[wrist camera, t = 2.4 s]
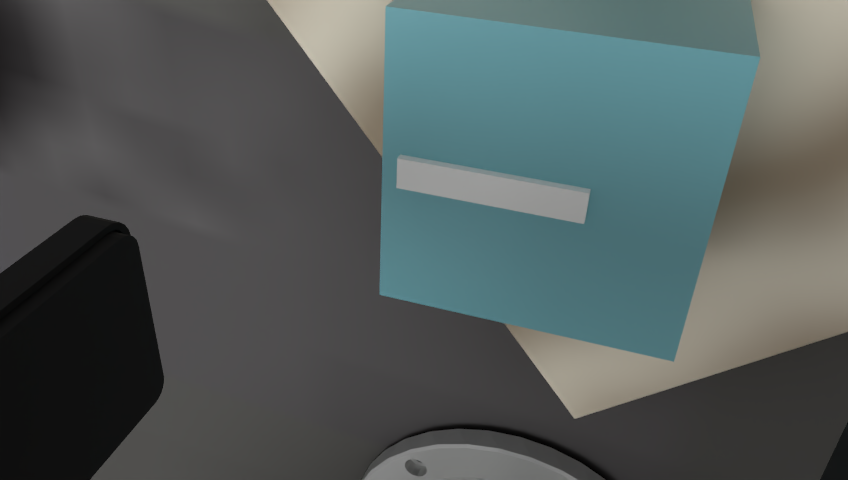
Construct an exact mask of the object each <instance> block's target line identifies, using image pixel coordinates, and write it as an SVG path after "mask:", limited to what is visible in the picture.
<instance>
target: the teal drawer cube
mask: <svg viewBox="0 0 848 480" xmlns="http://www.w3.org/2000/svg"><path fill="white" fill-rule="evenodd" d="M759 60H760V52H759V46H758V40H757V35H756V29H755V23H754V17H753V12H752V6H751V0H393V1H392V2H391V3H389V4H388V5H387V6H386V9H385V58H384V106H383V155H382V203H381V252H380V295H383V296H387V297H392V298H396V299H401V300H405V301H409V302H414V303H418V304H423V305H427V306H431V307H436V308H440V309H444V310H449V311H453V312H458V313H462V314H466V315H471V316H475V317H480V318H484V319H488V320H493V321H497V322H502V323H506V324H510V325H515V326H519V327H524V328H528V329H532V330H537V331H541V332H546V333H550V334H554V335H559V336H563V337H568V338H572V339H576V340H581V341H585V342H589V343H594V344H598V345H603V346H607V347H611V348H616V349H620V350H625V351H629V352H633V353H638V354H642V355H647V356H651V357H655V358H660V359H664V360H669V361H673V362H674V360H675V357H676V353H677V349H678V346H679V342H680V339H681V335H682V332H683V328H684V325H685V321H686V318H687V314H688V311H689V307H690V304H691V300H692V297H693V293H694V290H695V286H696V282H697V279H698V275H699V272H700V268H701V265H702V261H703V258H704V254H705V251H706V247H707V244H708V240H709V237H710V233H711V230H712V226H713V223H714V219H715V215H716V212H717V208H718V205H719V201H720V198H721V194H722V191H723V187H724V184H725V180H726V177H727V173H728V170H729V166H730V163H731V159H732V156H733V152H734V149H735V145H736V141H737V138H738V134H739V131H740V127H741V124H742V120H743V117H744V113H745V110H746V106H747V103H748V99H749V96H750V92H751V89H752V85H753V82H754V78H755V74H756V71H757V67H758V64H759Z"/></svg>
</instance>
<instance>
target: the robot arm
mask: <svg viewBox="0 0 848 480" xmlns="http://www.w3.org/2000/svg"><path fill="white" fill-rule="evenodd" d="M163 383H164V375H163V370H162V365H161V360H160V354H159V349H158V344H157V339H156V334H155V328H154V323H153V318H152V313H151V308H150V302H149V297H148V292H147V287H146V282H145V277H144V271H143V266H142V261H141V256H140V251H139V246H138V243H137V240H136V239H135V238H134V237H133V236H131V235H130V232H129V229H128V228H127V227H126V226H125V225H124V224H122V223H120V222H115V221H111V220H106V219H102V218H97V217H93V216H89V215H83V216H79V217H77V218H75V219H74V220H72V221H71V222H70V223H68V224H67V225H65V226H64V227H63V228H61V229H60V230H59V231H57V232H56V233H55V234H53V235H52V236H51V237H49V238H48V239H46V240H45V241H44V242H42V243H41V244H40V245H38V246H37V247H36V248H34V249H33V250H32V251H30V252H29V253H27V254H26V255H25V256H23V257H22V258H21V259H19V260H18V261H17V262H15V263H14V264H13V265H11V266H10V267H8V268H7V269H6V270H4V271H3V272H2V273H0V480H90V479H91V478H92V476H93V475H94V474H95V473H96V472H97V471H98V469H99V468H100V467H101V466H102V465H103V464H104V462H105V461H106V460H107V459H108V458H109V457H110V455H111V454H112V453H113V452H114V451H115V450H116V448H117V447H118V446H119V445H120V444H121V442H122V441H123V440H124V439H125V438H126V437H127V435H128V434H129V433H130V432H131V431H132V430H133V428H134V427H135V426H136V425H137V424H138V423H139V421H140V420H141V419H142V418H143V417H144V416H145V414H146V413H147V412H148V411H149V410H150V408H151V407H152V406H153V405H154V404H155V403H156V401H157V400H158V398H159V396H160V394H161V392H162V388H163ZM362 480H605V479H604V478H602V477H601V476H600V475H598V474H597V473H595V472H594V471H592V470H591V469H589V468H588V467H587V466H585V465H584V464H582V463H581V462H579V461H577V460H575V459H573V458H571V457H569V456H567V455H565V454H563V453H561V452H559V451H557V450H555V449H553V448H551V447H548V446H545V445H542V444H539V443H536V442H533V441H531V440H528V439H525V438H522V437H518V436H513V435H508V434H503V433H498V432H493V431H488V430H471V429H450V430H440V431H431V432H427V433H423V434H420V435H416V436H413V437H409V438H406V439H404V440H402V441H400V442H398V443H397V444H395V445H393V446H391V447H389V448H388V449H386V450H385V451H384V452H383V453H381V454H380V455H379V456H378V457H377V458H376V459H375V460H374V461H373V462H372V463H371V464H370V466H369V468H368V469H367V471H366V473H365V475H364V476H363V478H362ZM820 480H848V423H847V425H846V427H845V429H844V431H843V433H842V435H841V437H840V439H839V442H838V444H837V446H836V448H835V450H834V452H833V454H832V456H831V458H830V460H829V462H828V465H827V467H826V469H825V471H824V473H823V475H822V477H821V479H820Z"/></svg>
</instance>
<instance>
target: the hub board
mask: <svg viewBox="0 0 848 480" xmlns="http://www.w3.org/2000/svg"><path fill="white" fill-rule="evenodd" d="M267 1H268V2H269V4H270V5H271V6H272V8H273V9H274V10H275V12H276V13H277V14H278V16H279V17H280V19H281V20H282V21H283V23H284V24H285V25H286V27H287V28H288V29H289V31H290V32H291V34H292V35H293V36H294V38H295V39H296V40H297V42H298V43H299V44H300V46H301V47H302V49H303V50H304V51H305V53H306V54H307V55H308V57H309V58H310V59H311V61H312V62H313V64H314V65H315V66H316V68H317V69H318V70H319V72H320V73H321V74H322V76H323V77H324V78H325V80H326V81H327V83H328V84H329V85H330V87H331V88H332V89H333V91H334V92H335V93H336V95H337V96H338V98H339V99H340V100H341V102H342V103H343V104H344V106H345V107H346V108H347V110H348V111H349V113H350V114H351V115H352V117H353V118H354V119H355V121H356V122H357V123H358V125H359V126H360V128H361V129H362V130H363V132H364V133H365V134H366V136H367V137H368V138H369V140H370V141H371V142H372V144H373V145H374V147H375V148H376V149H377V151H378V152H379V153H380V155H381V156H382V155H383V106H384V58H385V9H386V6H387V5H388V4H389V3H391V2H392V1H393V0H267ZM751 6H752V12H753V17H754V23H755V29H756V35H757V40H758V46H759V52H760V60H759V64H758V67H757V71H756V74H755V78H754V82H753V85H752V89H751V92H750V96H749V99H748V103H747V106H746V110H745V113H744V117H743V120H742V124H741V127H740V131H739V134H738V138H737V141H736V145H735V149H734V152H733V156H732V159H731V163H730V166H729V170H728V173H727V177H726V180H725V184H724V187H723V191H722V194H721V198H720V201H719V205H718V208H717V212H716V215H715V219H714V223H713V226H712V230H711V233H710V237H709V240H708V244H707V247H706V251H705V254H704V258H703V261H702V265H701V268H700V272H699V275H698V279H697V282H696V286H695V290H694V293H693V297H692V300H691V304H690V307H689V311H688V314H687V318H686V321H685V325H684V328H683V332H682V335H681V339H680V342H679V346H678V349H677V353H676V357H675V360H674V362H673V361H669V360H664V359H660V358H655V357H651V356H647V355H642V354H638V353H633V352H629V351H625V350H620V349H616V348H611V347H607V346H603V345H598V344H594V343H589V342H585V341H581V340H576V339H572V338H568V337H563V336H559V335H554V334H550V333H546V332H541V331H537V330H532V329H528V328H524V327H519V326H515V325H510V324H506V323H504V324H505V325H506V326H507V328H508V329H509V330H510V332H511V333H512V334H513V336H514V337H515V339H516V340H517V341H518V343H519V344H520V345H521V347H522V348H523V349H524V351H525V352H526V354H527V355H528V356H529V358H530V359H531V360H532V362H533V363H534V364H535V366H536V367H537V369H538V370H539V371H540V373H541V374H542V375H543V377H544V378H545V379H546V381H547V382H548V383H549V385H550V386H551V388H552V389H553V390H554V392H555V393H556V394H557V396H558V397H559V398H560V400H561V401H562V403H563V404H564V405H565V407H566V408H567V409H568V411H569V412H570V413H571V415H572V416H573V418H574V419H576V418H579V417H582V416H585V415H588V414H592V413H595V412H598V411H601V410H604V409H607V408H610V407H613V406H617V405H620V404H623V403H626V402H629V401H632V400H635V399H639V398H642V397H645V396H648V395H651V394H654V393H657V392H661V391H664V390H667V389H670V388H673V387H676V386H679V385H682V384H686V383H689V382H692V381H695V380H698V379H701V378H704V377H708V376H711V375H714V374H717V373H720V372H723V371H726V370H729V369H733V368H736V367H739V366H742V365H745V364H748V363H751V362H755V361H758V360H761V359H764V358H767V357H770V356H773V355H776V354H780V353H783V352H786V351H789V350H792V349H795V348H798V347H802V346H805V345H808V344H811V343H814V342H817V341H820V340H823V339H827V338H830V337H833V336H836V335H839V334H842V333H845V332H848V0H751Z"/></svg>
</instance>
